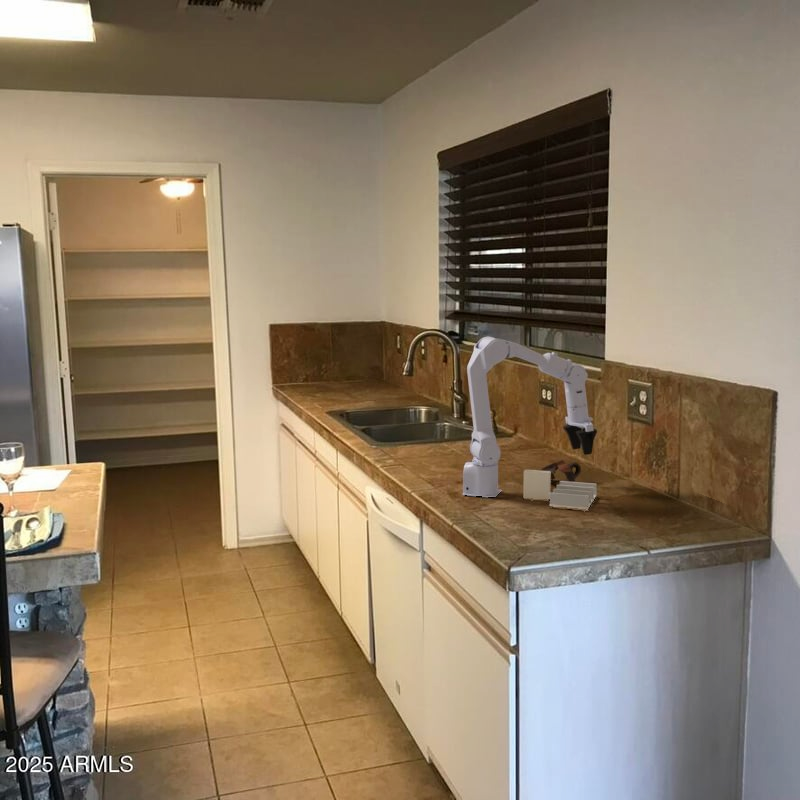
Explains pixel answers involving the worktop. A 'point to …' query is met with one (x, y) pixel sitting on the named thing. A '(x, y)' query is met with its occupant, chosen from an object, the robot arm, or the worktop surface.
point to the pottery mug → (564, 470)
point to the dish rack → (573, 495)
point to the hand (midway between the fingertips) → (582, 451)
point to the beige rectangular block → (537, 484)
